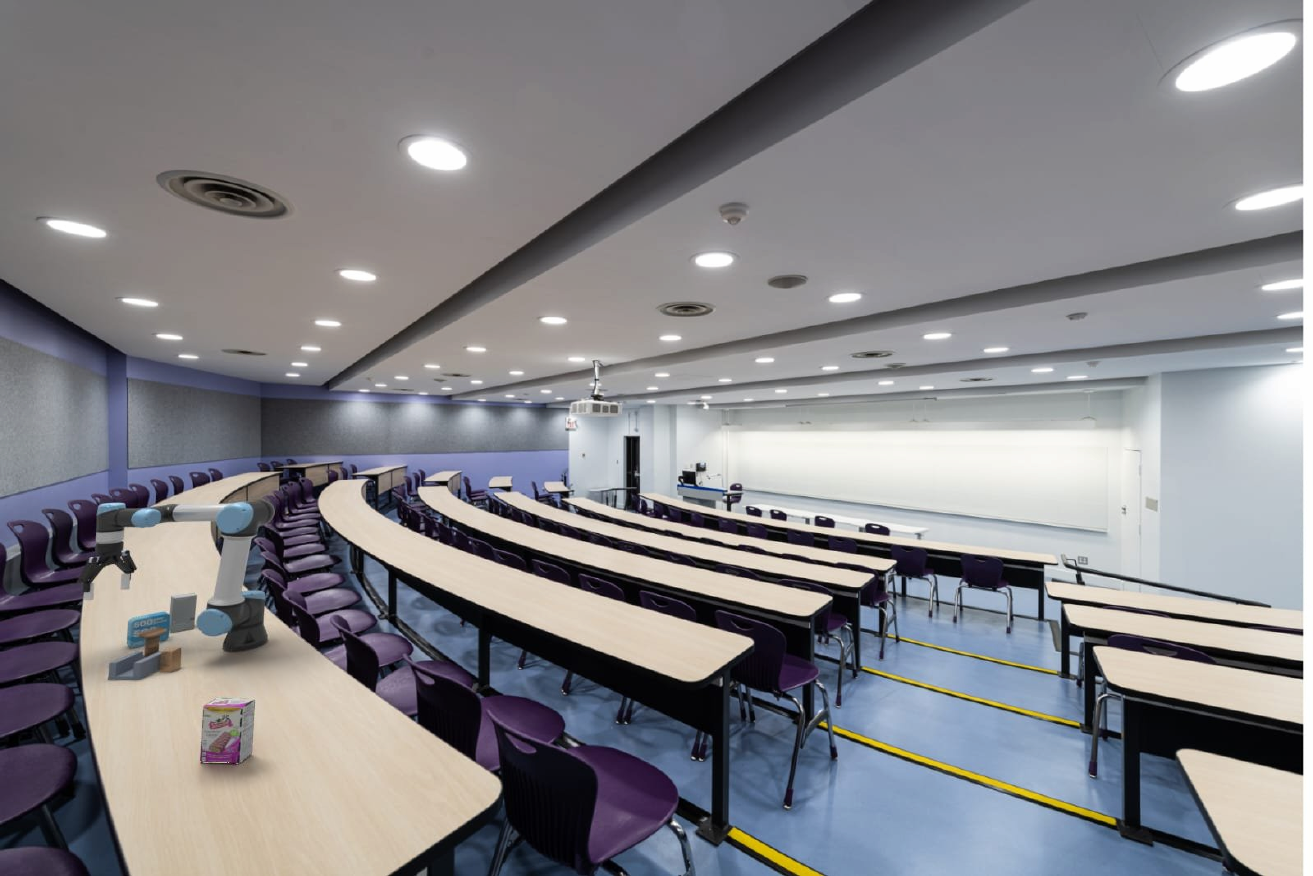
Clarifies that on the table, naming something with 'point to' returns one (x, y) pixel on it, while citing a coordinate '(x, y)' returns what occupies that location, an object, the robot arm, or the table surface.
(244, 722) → the candy bar box
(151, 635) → the door knob
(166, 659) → the tab
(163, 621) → the data package
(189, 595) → the skincare box
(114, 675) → the notch board
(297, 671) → the table surface
